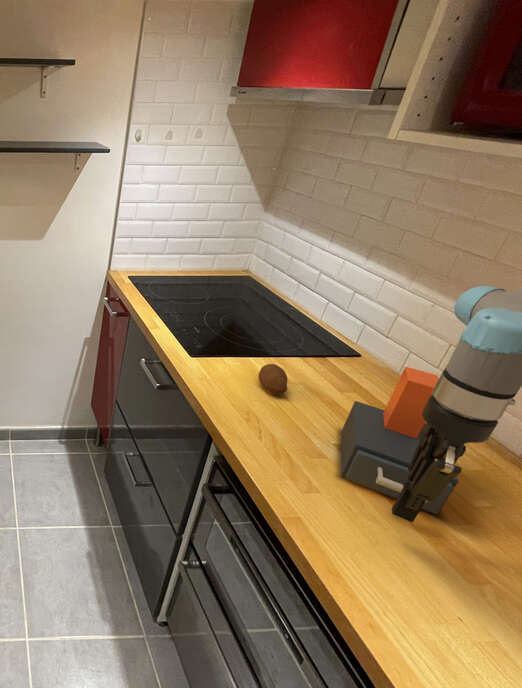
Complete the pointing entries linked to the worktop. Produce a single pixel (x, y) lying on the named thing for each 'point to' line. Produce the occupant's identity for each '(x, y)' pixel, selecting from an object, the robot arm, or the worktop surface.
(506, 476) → the worktop surface
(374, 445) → the cabinet
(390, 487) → the drawer
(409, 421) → the box
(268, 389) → the potato
